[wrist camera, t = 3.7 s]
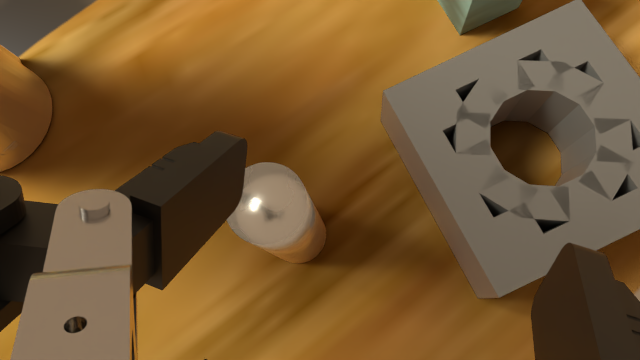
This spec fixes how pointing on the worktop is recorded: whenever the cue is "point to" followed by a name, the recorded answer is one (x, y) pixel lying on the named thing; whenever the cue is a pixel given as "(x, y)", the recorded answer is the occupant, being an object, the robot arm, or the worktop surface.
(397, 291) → the worktop surface
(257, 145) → the worktop surface
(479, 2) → the square peg
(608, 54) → the socket block
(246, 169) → the steel peg
